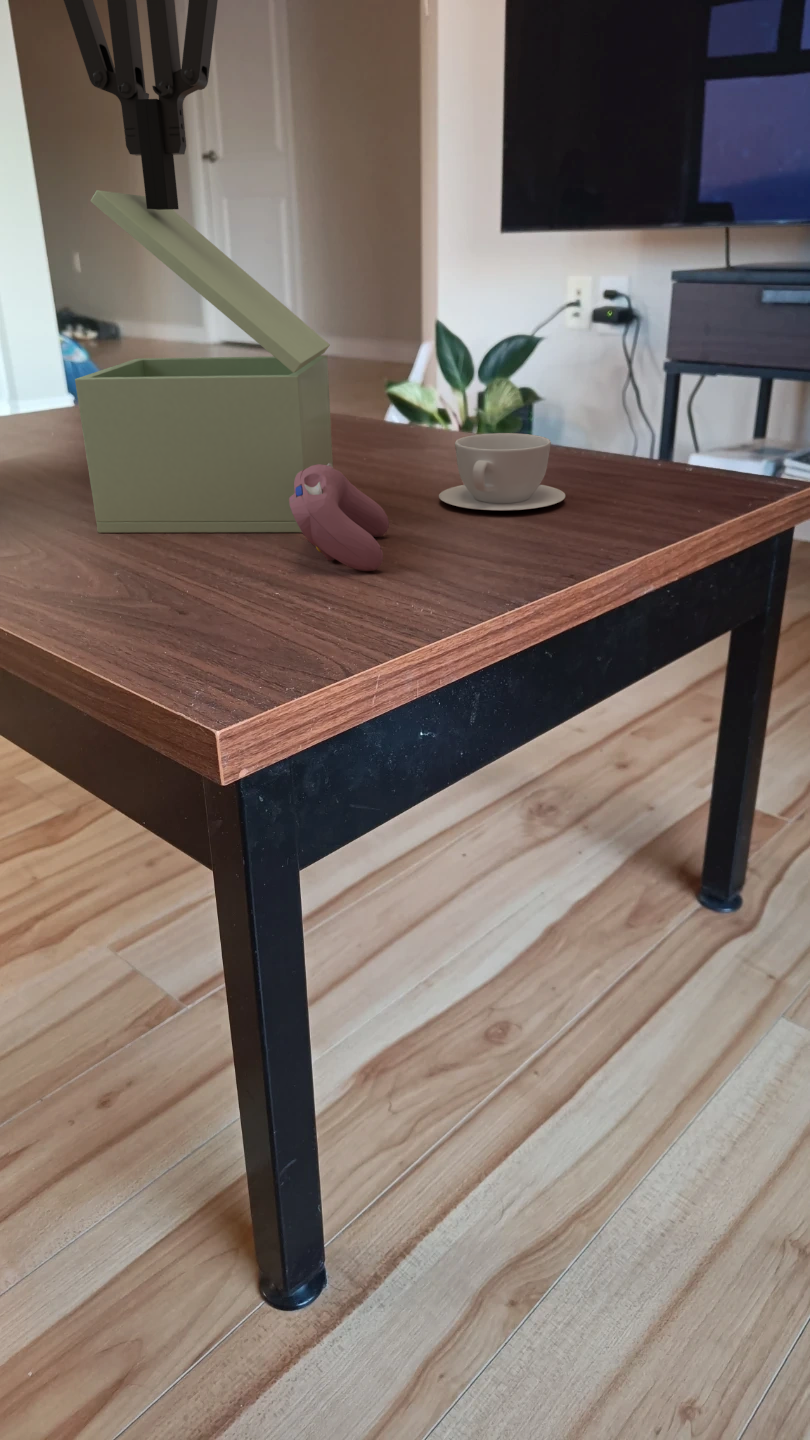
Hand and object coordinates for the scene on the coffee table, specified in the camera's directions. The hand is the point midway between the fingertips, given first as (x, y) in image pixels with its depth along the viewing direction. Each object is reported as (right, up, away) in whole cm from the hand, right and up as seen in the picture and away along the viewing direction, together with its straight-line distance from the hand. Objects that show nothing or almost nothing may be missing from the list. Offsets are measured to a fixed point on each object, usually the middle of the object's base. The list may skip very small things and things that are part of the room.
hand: (163, 208), depth 72 cm
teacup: (+25, -19, +10) cm, 32 cm away
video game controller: (+13, -25, -3) cm, 28 cm away
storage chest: (+3, -19, +9) cm, 21 cm away
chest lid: (+4, -5, +2) cm, 6 cm away
